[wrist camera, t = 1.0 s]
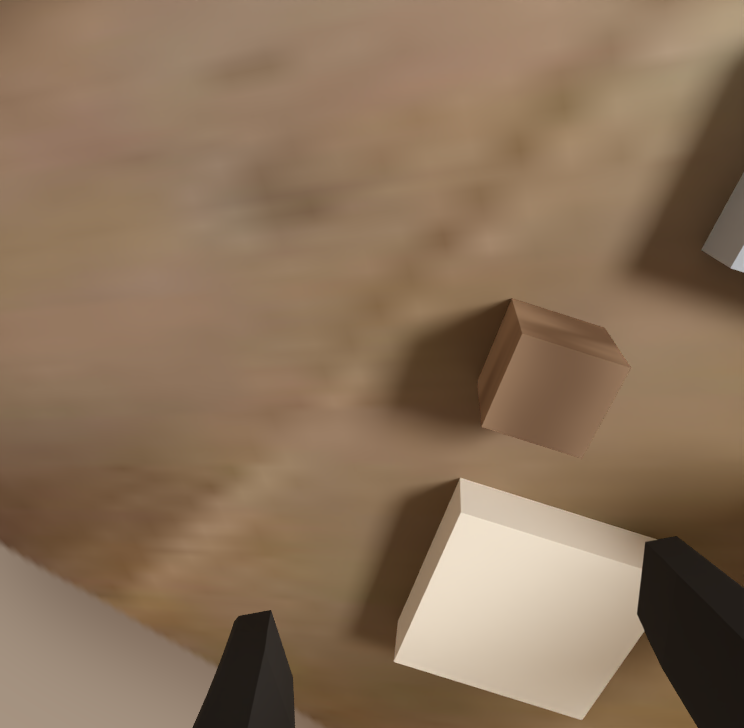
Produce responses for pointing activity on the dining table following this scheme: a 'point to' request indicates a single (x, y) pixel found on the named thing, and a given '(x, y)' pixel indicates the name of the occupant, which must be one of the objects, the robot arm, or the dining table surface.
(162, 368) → the dining table surface
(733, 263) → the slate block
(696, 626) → the robot arm
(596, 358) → the walnut cube
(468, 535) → the cream block
